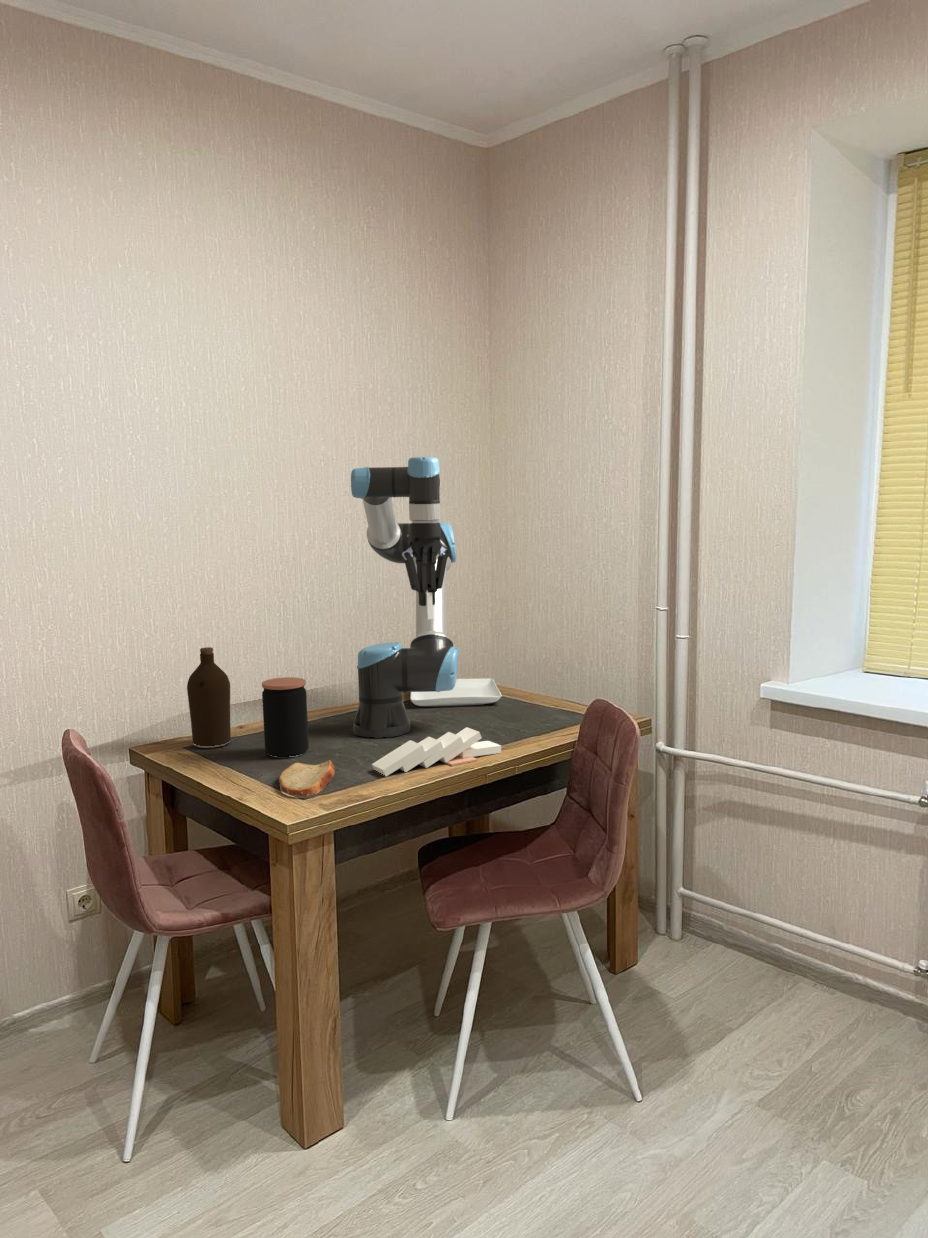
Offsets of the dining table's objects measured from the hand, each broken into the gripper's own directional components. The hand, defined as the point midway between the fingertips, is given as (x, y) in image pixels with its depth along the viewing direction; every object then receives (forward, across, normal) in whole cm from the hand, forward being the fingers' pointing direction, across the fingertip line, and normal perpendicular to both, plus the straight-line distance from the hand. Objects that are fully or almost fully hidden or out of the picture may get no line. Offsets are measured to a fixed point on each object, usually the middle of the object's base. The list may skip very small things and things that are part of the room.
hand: (427, 618), depth 230 cm
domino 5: (+31, 0, +12) cm, 33 cm away
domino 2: (+32, +16, +12) cm, 37 cm away
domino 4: (+31, +5, +12) cm, 34 cm away
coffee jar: (+33, +31, -17) cm, 48 cm away
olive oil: (+33, +44, -36) cm, 66 cm away
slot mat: (+32, +1, +12) cm, 35 cm away
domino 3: (+32, +10, +12) cm, 35 cm away
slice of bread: (+33, +36, +8) cm, 50 cm away
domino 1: (+32, +21, +12) cm, 40 cm away
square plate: (+33, -34, -44) cm, 64 cm away
